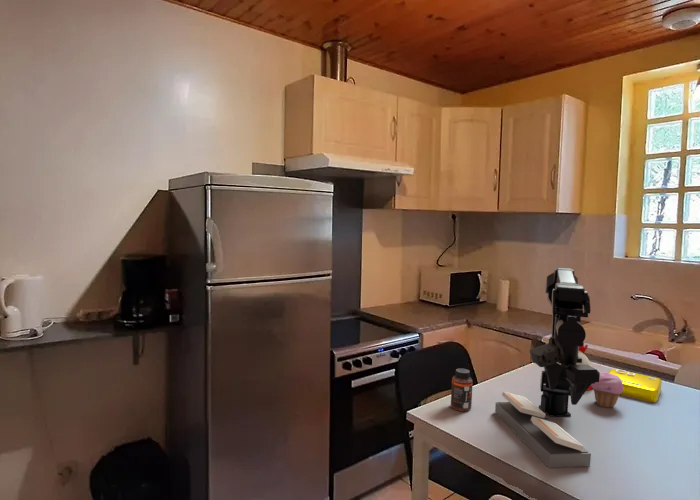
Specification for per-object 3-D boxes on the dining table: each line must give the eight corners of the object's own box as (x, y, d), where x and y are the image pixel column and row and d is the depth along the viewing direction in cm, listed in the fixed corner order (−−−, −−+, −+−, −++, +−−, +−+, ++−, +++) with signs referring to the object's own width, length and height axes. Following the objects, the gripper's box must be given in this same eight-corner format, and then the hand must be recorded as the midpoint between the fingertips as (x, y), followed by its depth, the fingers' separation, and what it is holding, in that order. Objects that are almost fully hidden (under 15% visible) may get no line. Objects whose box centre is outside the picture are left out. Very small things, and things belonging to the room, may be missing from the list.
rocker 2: (554, 428, 111) (556, 423, 111) (582, 451, 101) (584, 445, 100) (530, 420, 111) (532, 415, 110) (555, 442, 100) (557, 437, 100)
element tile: (601, 391, 146) (602, 377, 146) (610, 379, 158) (611, 366, 157) (656, 404, 137) (657, 389, 136) (661, 390, 148) (662, 377, 148)
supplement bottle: (472, 413, 126) (474, 375, 125) (450, 410, 127) (452, 373, 126) (470, 404, 132) (472, 368, 131) (450, 402, 133) (452, 366, 132)
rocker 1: (523, 400, 127) (524, 396, 127) (544, 418, 116) (545, 413, 116) (501, 395, 126) (503, 390, 126) (520, 412, 115) (522, 407, 115)
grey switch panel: (527, 411, 128) (528, 400, 128) (590, 466, 100) (591, 451, 100) (495, 412, 127) (495, 400, 127) (548, 467, 99) (549, 453, 99)
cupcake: (586, 397, 140) (588, 366, 139) (616, 400, 138) (618, 370, 137) (593, 408, 132) (595, 376, 131) (625, 412, 129) (628, 380, 128)
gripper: (517, 326, 117) (514, 382, 118) (557, 347, 98) (553, 414, 100) (556, 326, 118) (553, 382, 119) (603, 346, 100) (598, 413, 101)
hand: (562, 396), depth 110 cm, fingers open, 9 cm apart
